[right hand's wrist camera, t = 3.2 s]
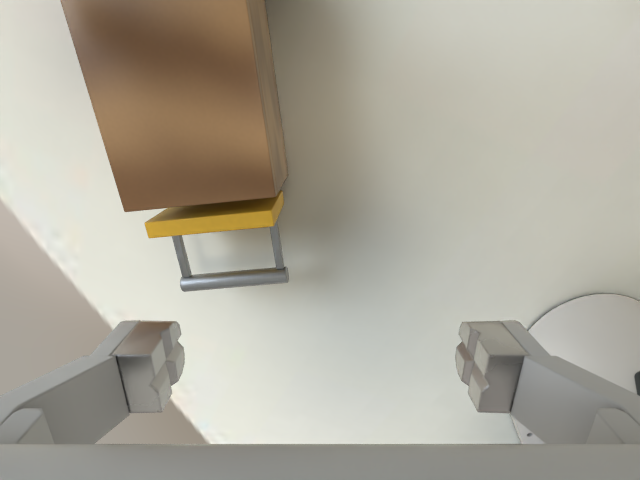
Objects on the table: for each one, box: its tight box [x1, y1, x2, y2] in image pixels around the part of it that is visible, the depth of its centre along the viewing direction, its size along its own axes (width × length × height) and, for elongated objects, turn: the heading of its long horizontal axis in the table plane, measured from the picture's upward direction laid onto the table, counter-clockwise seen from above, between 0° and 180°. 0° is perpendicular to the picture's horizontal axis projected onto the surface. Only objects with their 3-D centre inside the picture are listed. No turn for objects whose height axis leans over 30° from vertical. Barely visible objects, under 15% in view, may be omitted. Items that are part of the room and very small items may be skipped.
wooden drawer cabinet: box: [61, 0, 288, 212], centre depth 25 cm, size 17×10×8 cm, turn 6°
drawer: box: [145, 190, 289, 292], centre depth 27 cm, size 22×9×6 cm, turn 6°
